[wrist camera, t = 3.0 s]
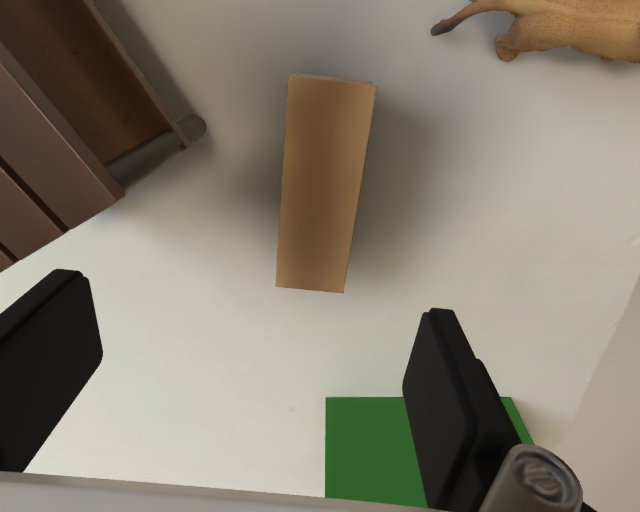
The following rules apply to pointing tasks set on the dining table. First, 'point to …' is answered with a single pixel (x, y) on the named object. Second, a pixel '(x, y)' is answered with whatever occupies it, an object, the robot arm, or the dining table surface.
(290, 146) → the tan rectangular block
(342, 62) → the dining table surface
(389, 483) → the hardback book
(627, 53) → the lion figurine
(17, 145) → the rack
